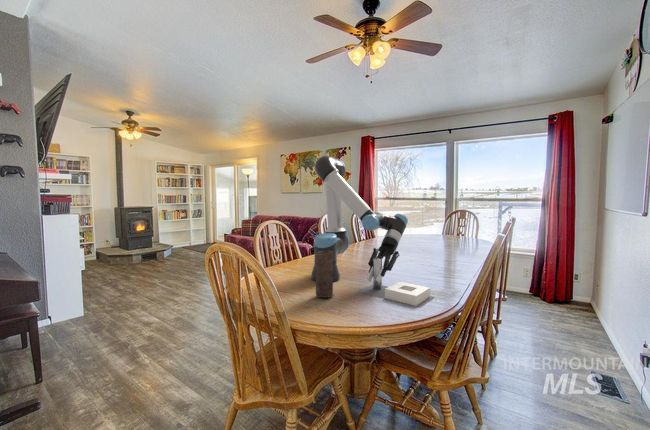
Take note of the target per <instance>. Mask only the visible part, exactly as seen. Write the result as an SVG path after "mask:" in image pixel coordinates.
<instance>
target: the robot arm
mask: <svg viewBox="0 0 650 430" xmlns="http://www.w3.org/2000/svg"><path fill="white" fill-rule="evenodd" d="M314 171H315V173H316V175H317V176H318V177H319V179H320V180H321V181H322V183H323V184H324V186H325V199H326V215H327V216H326V217H327V219H326V220H327V229H326V230H325V232H323V233H319V234H317V235H316V236H314V242H313V244H314V248H313V249H314V264H313V267H312V271H311V274H310V275H311V276H310V279H311V280H312V281H314V282H316V253H317V252H318V251H333V283H335V282H338V281H340V279H341V275H340V272H339V268H338V265H337V264H338V263H337V259H338V255H341V254H344V253H345V252H346V251H347V250H348V249H349V246H350V238H349V237H348V235H347V230H346V228H345V227H344V219H343V218H344V217H343V203H344V204H345V205H346V206H347V207H348V208H349V209H350V211H352V212H353V214H354V215H355V216H356V217H357V218H358V219H359V221H360V222H361V226H362V227H363V229H364V230H366V231H371V232H372V231H375V230H377V229H382V230H386V233H385V235H384V237H383V239H382V241H381V245H380V246H379V248H376V247H374V248H373V250H372V253H371V256H370V259H369V261H368V266H369V269H368V275H367V276H366V279H367V281H368V282H371V281H372V280H373V259H374V258H381V259H382V260H383V259H384V262H383V265H382V268H381V269H380V272H379V274H378V276H377V278H376V281H377V283H380V281H381V279H382V280H383V278H384V277H385V275H386V273H387V271H389V272H392V269H393V267H394V265H395V263H396V261H397V259H398V258H399V257H400V253H399V251H398V250H397V248H398V246H399V243H400V241H401V238H402V237H403V234H404V232H405V229H406V228H407V224H408V222H409V219H408V218H407V216H406V215H404V213H403V214H402V213H396V214H395V215H393V216H392V215H388V214H385V213H381V212H379V211H374V210H373V209H372V208H370V206H369V205H368V204H367V203H366V202H365V201H364V200H363V199H362V197H360V195H359V194H358V193H357V192H356V191H355V190H354V188H352V187H351V186H350V185H349V183H348V182H347V181H346V180H345V178H344V176H345V175H346V171H347V168H346V164H345V163H344V161H343V160H341V159H340V158H338V157H334V156H329V155H323V156H320V157H318V158H317V159H316V161H315V164H314ZM342 202H343V203H342Z"/></svg>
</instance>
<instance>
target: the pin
mask: <svg viewBox="0 0 650 430" xmlns="http://www.w3.org/2000/svg"><path fill="white" fill-rule="evenodd" d="M381 268H383V259H381V258H374V259H373V277H372V285H373V289H374V290H381V289H382V285H383V283H382V282H383V281H382V280H383V278H382V279H381V281H380V283H377V281H376V278H377V276H378V274H379V272H380V269H381Z"/></svg>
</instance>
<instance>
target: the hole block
mask: <svg viewBox="0 0 650 430" xmlns="http://www.w3.org/2000/svg"><path fill="white" fill-rule="evenodd" d="M387 287H388V288H385V298H387V299H391V300H395V301H399V302H403V303H407V304H411V305H415V306H417V305H419V304H420V303H422V302H423V301H425V300H426V299H428V298H429V297H430V296H431V287H429V286H428V287H427V286H423V285H418V284H414V283H413V284H412V283H409V282H405V281H398V282H396V283H394V284H391V285H390V286H387ZM387 299H386V300H387ZM391 300H390V301H391ZM395 301H394V302H395ZM399 302H398V303H399Z"/></svg>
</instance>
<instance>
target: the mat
mask: <svg viewBox="0 0 650 430" xmlns="http://www.w3.org/2000/svg"><path fill="white" fill-rule="evenodd" d="M388 287H389V286H386V285H383V284H382V289H381V290H374V289H373V284H370V285H368V286H366V287H364V288H361V289H358V290H357V291H356V293H360V294H364V295H367V296H368V295H369V296H371V297H375V298H380V299H384V300H387V301H392V302H394V303H400V304H402V305H403V304H404V305H406V306H411V307H414V308H419V309H421V308H422V307H424V306H426V305H427V304H428V303H429V302H432V301H433V300H434V299H435V298H436V296H431V295H430V297H429V298H428V299H426V300H425V301H423V302H422V303H420V304H419V305H417V306H415V305H411V304H407V303H403V302H399V301H395V300H391V299H387V298H385V288H388Z"/></svg>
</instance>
